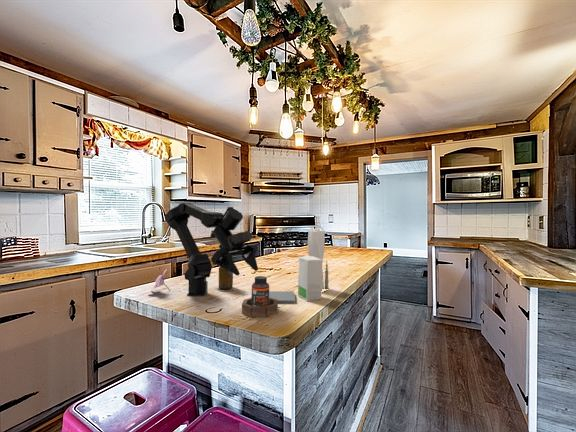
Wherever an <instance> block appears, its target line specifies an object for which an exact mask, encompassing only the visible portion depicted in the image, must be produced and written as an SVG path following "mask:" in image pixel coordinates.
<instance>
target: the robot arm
mask: <svg viewBox="0 0 576 432" xmlns="http://www.w3.org/2000/svg"><path fill="white" fill-rule="evenodd" d="M191 217H192V218H194V219H197V220H199V221H200V224H202V225H203V226H204V227H205V228H206V229H207V228H208V229H209V228H210V229H211V228H214V229H213V230H211V233H210V238H211V239H213V238H214V239H216V240H217V241H218V243H219V246H218V248H217V249H216V251H215V252H214V253H213V255H212V256H211V258H209V255H208V254H207V253H201V251H200V249H199V247H198V246H197V245H198V244H197V243H196V241H195V238H194V237H193V235H192V233H191V231H190V229H189V227H188V223H189V219H190V218H191ZM164 219H165V221H166V223H167V224H168V226H169V228H171V229H172V230H174V231H175V232H176V234H177V237H178V238H179V240H180V243H181V245H182V247H183V250H184V251H185V253H186V256H187V257H188V260H187V261H188V263H187V269H186V271H185V272H184V273H183V275H184V279H185V280H187V281H188V293H187V294H186V296H205V294H207V293H208V290H209V289H208V286H209V285H208V284H209V283H208V280H207V278H210V277H211V273H212V268H213V266H217V267H222V268H224V269H227V270H228V271H230V272H232V273H233V275H235V276H240V274H241V273H240V270H239V269H238V267H237V265H236V264H235V262H234V260H233V258H234V257H241V258H242V259H244V260H243V261H244V262H245V263H246V264H247V265H248V266H249V267H250V268H251V269H253V270H254V271H255V272H258V271H259V267H258V263H257V259H256V255H257V254H256V253H258V250H260V249H259V247H258V245H257V244H254V243H252V244H247V245H246V246H245V244H246V243H248V242H250V241H251V239H253V234H252V233H251V232H250V231H249V230H245V231H240V232H238V233H237V234H233V233H232V231H234V230H236V228H237V227H238V226H239V224H240V223H241V221H242V220H243V219H244V216H243V213H242V212H240V211H239V210H237V209H235V208H234V207H233V206H228V207H227V209H226V211H225V212H224V213H222V212H217V211H209V210H207V209H204V208H202V207H199V206H197V205H195V204H194V203H191V202H180V203H179V204H178V205H177V206H174V207H172V208H170V209H169V211H167V212H166V214H165V215H164ZM244 246H245V247H244ZM243 248H244V249H243ZM210 259H211V260H210ZM212 265H213V266H212Z"/></svg>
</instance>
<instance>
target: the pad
mask: <svg viewBox="0 0 576 432" xmlns="http://www.w3.org/2000/svg"><path fill="white" fill-rule="evenodd" d="M269 297H271V298H274V299H277V300H278V304H296V297H295V291H289V290H288V291H282V290H281V291H279V290H276V291H275V290H274V291H272V290H271V291H270V290H269Z"/></svg>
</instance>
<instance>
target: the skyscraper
mask: <svg viewBox="0 0 576 432" xmlns="http://www.w3.org/2000/svg"><path fill="white" fill-rule="evenodd" d="M316 227H317V228H316ZM307 232H308V233H307V236H308V237H307V256H314V257H317V258H319V259H321V260H322V262H323V261H324V257H325V256H324V254H325V246H326V245H325V243H326V241H325V239H326V238H325V230H324V228H323V227H321V226H319V225H311V226H310V228H309V229H308V231H307ZM325 262H326V263H325V270H324V269H323V268H322V285H321V291H322V289H324V288H325V289H329V290H330V287H329V270H328V260H326V261H325ZM323 270H324V271H323Z"/></svg>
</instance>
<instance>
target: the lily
mask: <svg viewBox="0 0 576 432" xmlns="http://www.w3.org/2000/svg"><path fill="white" fill-rule="evenodd" d="M167 269H168V268H166V269H165V270H164V271H163V272H162V274H159V275H158V277H157V278H155V279H154V286H153V287H152V288H151V290H150V291H149V292H148V295H150V293H151V292H152V291H153V290H154V289H156V288H158V287H162V286H165V287H166V288H167V289H168V291H169V292H171V289H170V288H169V287H168V285H166V284H165V279H164V277H165V274H166V271H167Z"/></svg>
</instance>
